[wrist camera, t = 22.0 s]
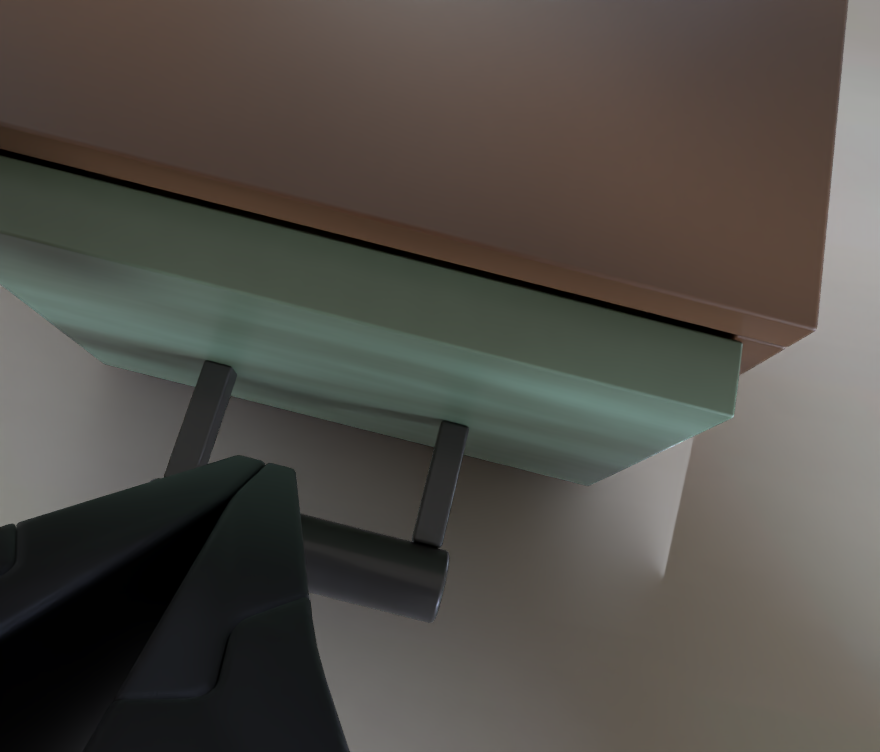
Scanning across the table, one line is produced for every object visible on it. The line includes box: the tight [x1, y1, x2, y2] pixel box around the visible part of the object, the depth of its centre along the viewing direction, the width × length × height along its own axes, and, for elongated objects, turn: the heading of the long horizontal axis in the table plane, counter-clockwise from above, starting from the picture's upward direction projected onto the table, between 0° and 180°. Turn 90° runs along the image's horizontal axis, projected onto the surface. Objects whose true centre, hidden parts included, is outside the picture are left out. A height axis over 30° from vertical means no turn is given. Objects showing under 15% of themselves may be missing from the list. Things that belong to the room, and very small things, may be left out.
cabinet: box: [0, 0, 848, 375], centre depth 16 cm, size 13×14×10 cm
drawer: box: [0, 155, 743, 623], centre depth 15 cm, size 15×12×8 cm
